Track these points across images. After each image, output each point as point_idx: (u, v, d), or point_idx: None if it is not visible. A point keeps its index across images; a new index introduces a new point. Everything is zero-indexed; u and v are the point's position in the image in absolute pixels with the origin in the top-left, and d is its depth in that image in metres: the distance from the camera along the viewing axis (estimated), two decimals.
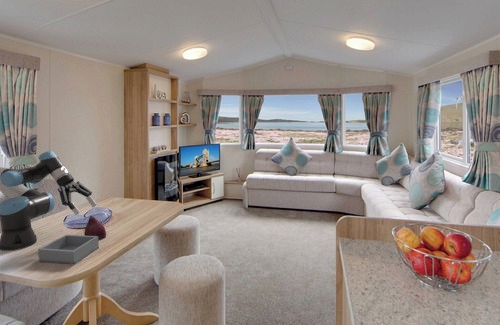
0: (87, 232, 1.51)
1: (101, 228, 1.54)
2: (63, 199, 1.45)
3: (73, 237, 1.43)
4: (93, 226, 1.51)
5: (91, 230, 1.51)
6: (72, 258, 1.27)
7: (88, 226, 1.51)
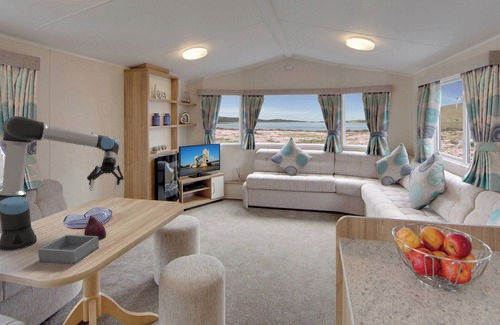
0: (87, 232, 1.51)
1: (101, 228, 1.54)
2: None
3: (73, 237, 1.43)
4: (93, 226, 1.51)
5: (91, 230, 1.51)
6: (72, 258, 1.27)
7: (88, 226, 1.51)
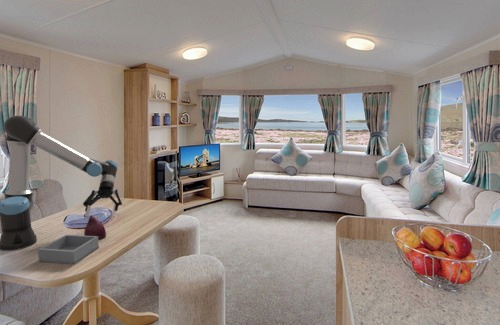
0: (87, 232, 1.51)
1: (101, 228, 1.54)
2: (120, 200, 1.67)
3: (73, 237, 1.43)
4: (93, 226, 1.51)
5: (91, 230, 1.51)
6: (72, 258, 1.27)
7: (88, 226, 1.51)
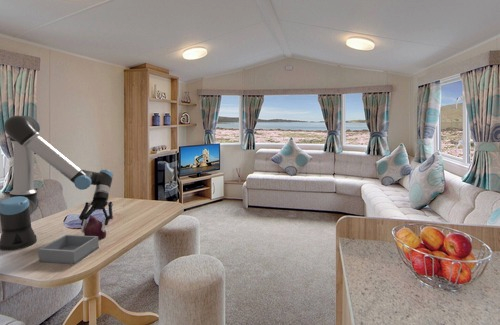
0: (87, 232, 1.51)
1: (101, 228, 1.54)
2: (112, 214, 1.59)
3: (73, 237, 1.43)
4: (93, 226, 1.51)
5: (91, 230, 1.51)
6: (72, 258, 1.27)
7: (88, 226, 1.51)
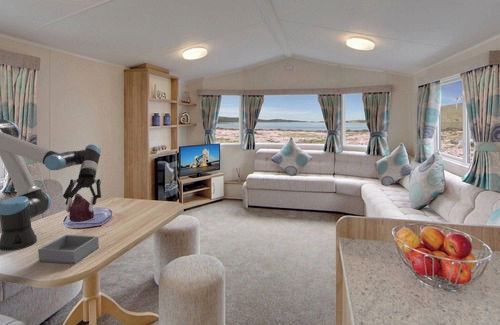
0: (73, 212, 1.36)
1: (88, 207, 1.40)
2: (100, 192, 1.45)
3: (73, 237, 1.43)
4: (79, 205, 1.37)
5: (77, 210, 1.36)
6: (72, 258, 1.27)
7: (74, 205, 1.37)
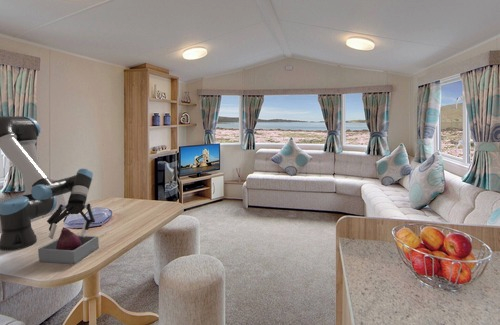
0: (59, 246, 1.31)
1: (76, 241, 1.34)
2: (93, 217, 1.40)
3: None
4: (66, 239, 1.32)
5: (63, 244, 1.31)
6: (72, 258, 1.27)
7: (60, 239, 1.31)
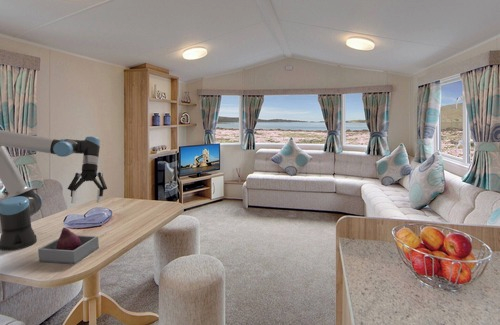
0: (59, 247, 1.31)
1: (76, 242, 1.34)
2: (105, 184, 1.58)
3: None
4: (66, 239, 1.32)
5: (64, 245, 1.31)
6: (72, 258, 1.27)
7: (61, 240, 1.31)
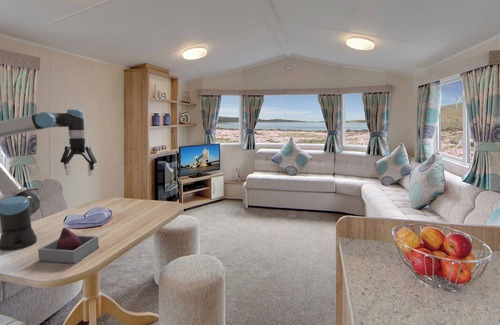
0: (59, 247, 1.31)
1: (76, 242, 1.34)
2: (94, 158, 1.62)
3: None
4: (66, 239, 1.32)
5: (64, 245, 1.31)
6: (72, 258, 1.27)
7: (61, 240, 1.31)
